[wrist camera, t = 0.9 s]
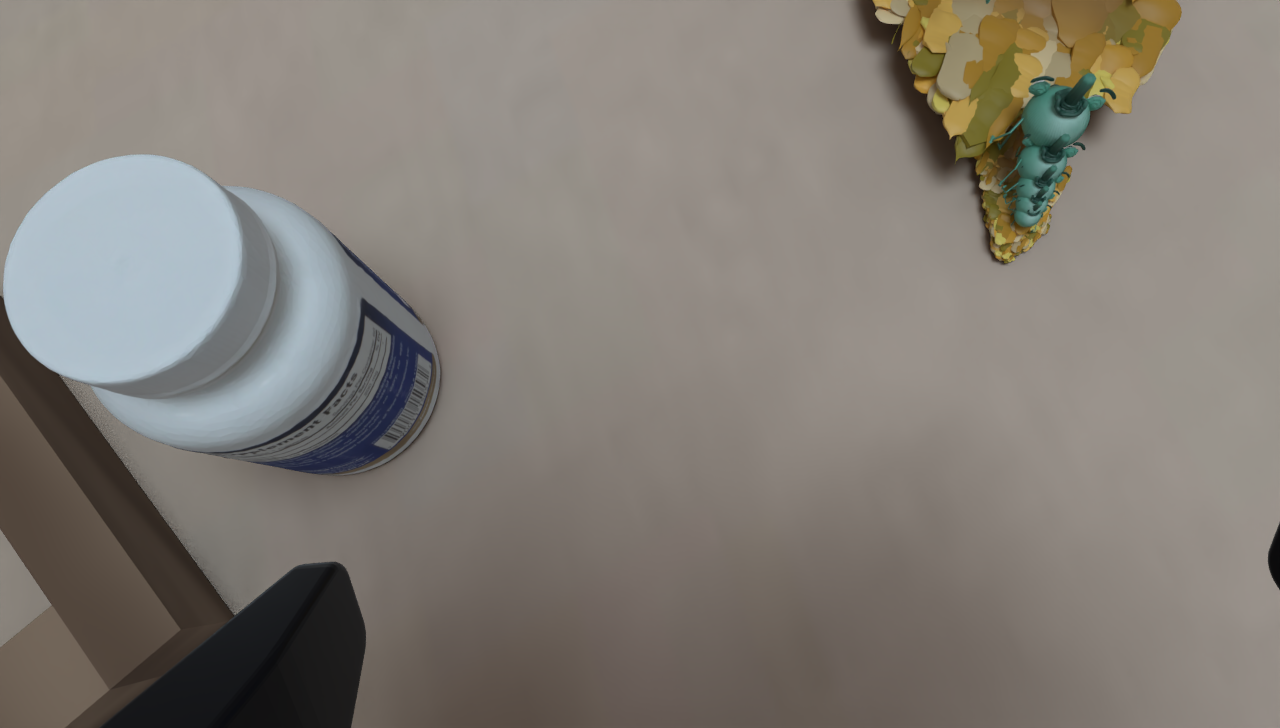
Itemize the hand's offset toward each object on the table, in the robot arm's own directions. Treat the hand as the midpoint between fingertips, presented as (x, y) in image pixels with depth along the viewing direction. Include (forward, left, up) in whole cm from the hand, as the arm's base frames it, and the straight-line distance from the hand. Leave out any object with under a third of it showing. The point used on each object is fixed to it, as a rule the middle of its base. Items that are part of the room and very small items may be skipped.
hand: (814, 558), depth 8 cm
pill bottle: (+4, +11, -14) cm, 18 cm away
